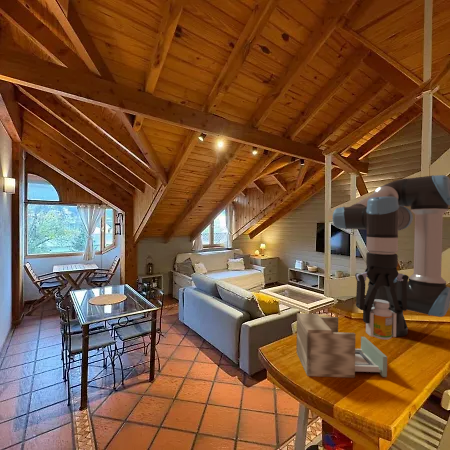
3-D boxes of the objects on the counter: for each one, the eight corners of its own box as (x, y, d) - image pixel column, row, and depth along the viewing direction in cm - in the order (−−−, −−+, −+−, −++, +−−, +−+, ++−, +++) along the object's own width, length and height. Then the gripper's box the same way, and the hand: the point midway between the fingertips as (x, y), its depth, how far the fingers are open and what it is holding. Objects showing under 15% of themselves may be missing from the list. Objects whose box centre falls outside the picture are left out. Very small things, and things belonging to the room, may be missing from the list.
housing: (336, 353, 91) (337, 314, 91) (354, 377, 77) (355, 330, 77) (296, 352, 92) (296, 313, 92) (307, 376, 78) (307, 329, 78)
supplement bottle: (365, 333, 75) (365, 299, 75) (378, 330, 77) (379, 297, 76) (382, 341, 70) (382, 305, 69) (396, 338, 72) (397, 303, 71)
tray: (364, 353, 91) (364, 336, 91) (387, 377, 77) (387, 356, 77) (323, 352, 91) (324, 335, 91) (339, 375, 78) (339, 355, 78)
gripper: (406, 250, 76) (405, 329, 76) (342, 250, 77) (341, 328, 77) (425, 254, 68) (424, 341, 69) (354, 253, 69) (353, 340, 70)
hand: (380, 334), depth 73 cm, fingers closed on supplement bottle, 5 cm apart
